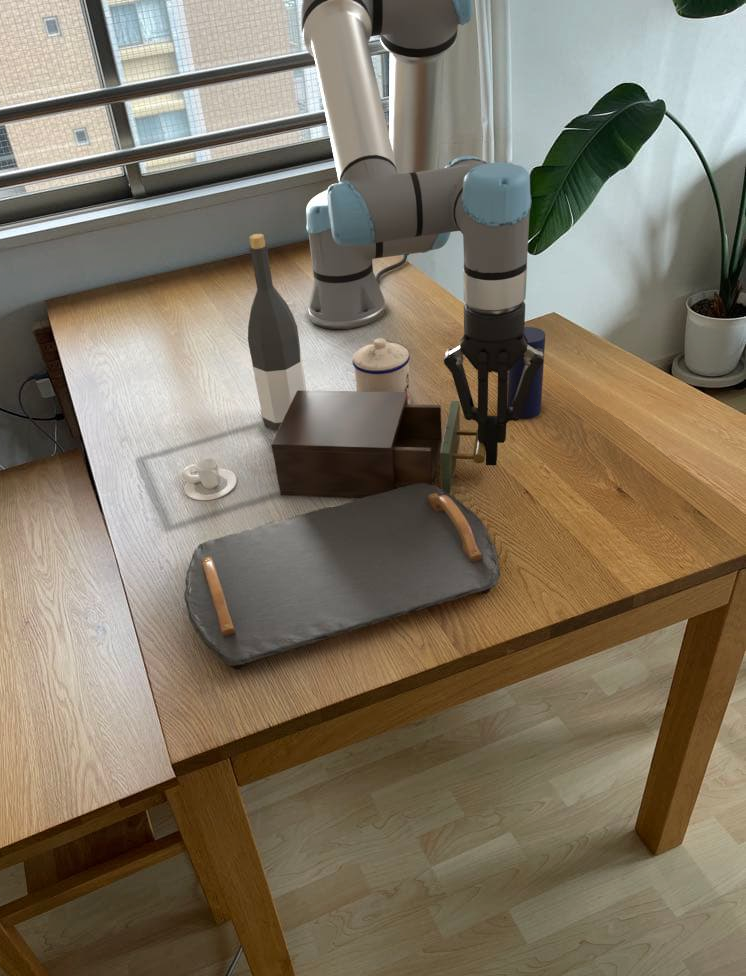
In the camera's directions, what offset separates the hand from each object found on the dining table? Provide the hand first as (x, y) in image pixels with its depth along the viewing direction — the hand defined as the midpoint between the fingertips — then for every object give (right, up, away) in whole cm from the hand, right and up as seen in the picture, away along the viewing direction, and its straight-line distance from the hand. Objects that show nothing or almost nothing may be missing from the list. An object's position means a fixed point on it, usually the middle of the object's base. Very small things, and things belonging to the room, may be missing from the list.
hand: (491, 459), depth 116 cm
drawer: (-10, -1, +3) cm, 11 cm away
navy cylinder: (+8, +9, +13) cm, 18 cm away
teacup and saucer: (-40, -2, +9) cm, 41 cm away
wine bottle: (-30, +9, +19) cm, 37 cm away
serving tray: (-21, -16, -13) cm, 30 cm away
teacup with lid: (-14, +12, +20) cm, 27 cm away
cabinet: (-20, -1, +6) cm, 21 cm away
